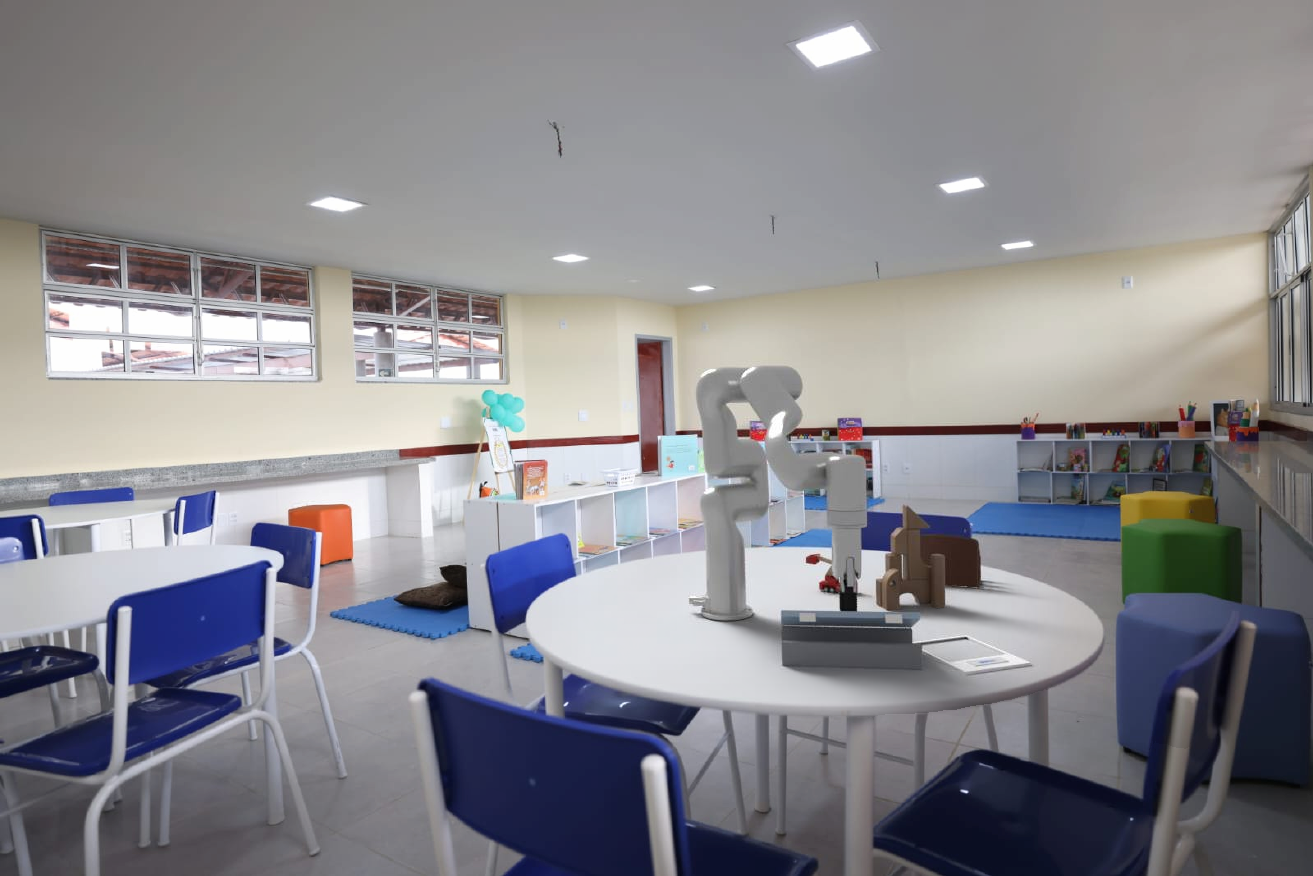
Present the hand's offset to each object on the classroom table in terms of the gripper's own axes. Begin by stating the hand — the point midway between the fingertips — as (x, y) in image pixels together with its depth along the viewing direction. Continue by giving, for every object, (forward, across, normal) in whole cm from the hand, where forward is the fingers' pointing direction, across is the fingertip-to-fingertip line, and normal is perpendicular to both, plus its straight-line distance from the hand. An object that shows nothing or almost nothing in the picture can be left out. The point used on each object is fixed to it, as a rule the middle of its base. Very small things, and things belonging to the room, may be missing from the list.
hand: (848, 611), depth 142 cm
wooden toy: (+10, -41, +19) cm, 47 cm away
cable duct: (+10, -2, 0) cm, 10 cm away
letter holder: (+10, -68, +32) cm, 76 cm away
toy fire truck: (+10, -55, +1) cm, 56 cm away
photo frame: (+10, -5, +23) cm, 26 cm away
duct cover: (+4, -2, 0) cm, 4 cm away
